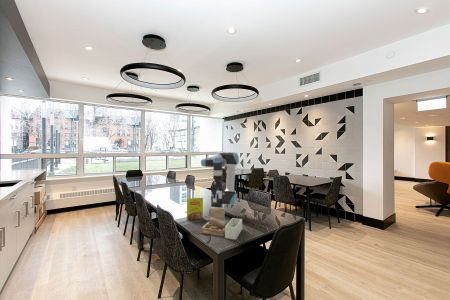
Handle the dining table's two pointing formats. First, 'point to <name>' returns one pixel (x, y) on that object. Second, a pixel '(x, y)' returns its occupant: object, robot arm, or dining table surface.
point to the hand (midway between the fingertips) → (217, 200)
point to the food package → (194, 208)
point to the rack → (206, 229)
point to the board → (217, 216)
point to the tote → (233, 228)
